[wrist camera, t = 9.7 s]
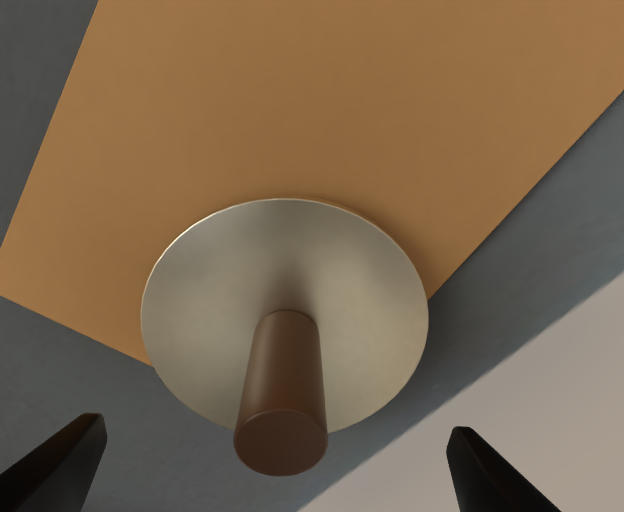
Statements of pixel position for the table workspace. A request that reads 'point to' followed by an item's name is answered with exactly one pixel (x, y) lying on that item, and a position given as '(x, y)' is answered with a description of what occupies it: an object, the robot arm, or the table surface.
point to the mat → (298, 131)
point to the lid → (284, 324)
